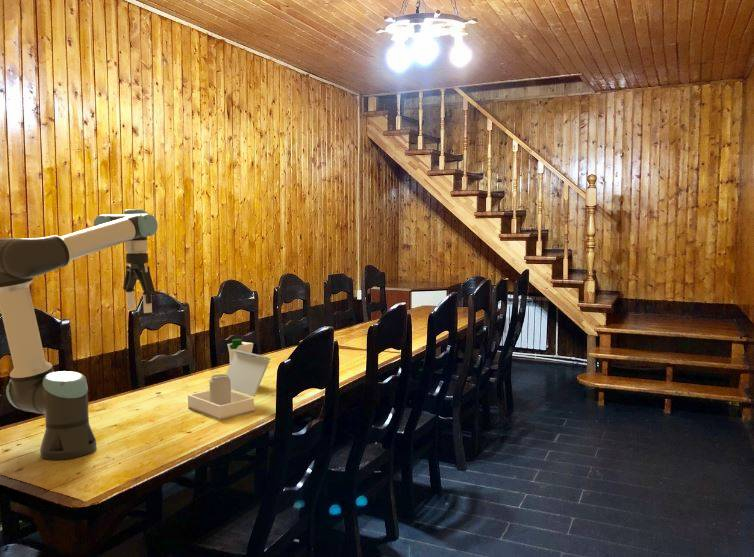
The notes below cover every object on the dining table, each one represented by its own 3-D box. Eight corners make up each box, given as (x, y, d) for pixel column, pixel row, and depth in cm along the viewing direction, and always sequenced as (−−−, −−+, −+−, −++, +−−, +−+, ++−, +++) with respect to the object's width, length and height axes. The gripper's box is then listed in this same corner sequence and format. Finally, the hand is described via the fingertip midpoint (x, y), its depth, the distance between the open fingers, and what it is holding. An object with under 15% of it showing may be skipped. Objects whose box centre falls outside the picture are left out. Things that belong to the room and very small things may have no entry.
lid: (266, 356, 231) (270, 358, 233) (232, 348, 247) (237, 351, 248) (249, 394, 227) (254, 396, 228) (216, 384, 242) (221, 386, 244)
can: (225, 411, 227) (224, 378, 226) (206, 410, 228) (205, 377, 227) (234, 405, 234) (233, 373, 233) (216, 404, 236) (215, 372, 235)
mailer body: (220, 420, 219) (219, 406, 218) (188, 408, 234) (187, 394, 234) (254, 411, 229) (253, 398, 228) (221, 400, 244) (221, 387, 244)
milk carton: (226, 386, 266) (225, 339, 264) (241, 382, 273) (240, 336, 271) (241, 389, 261) (240, 341, 259) (257, 384, 268) (255, 338, 267)
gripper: (163, 252, 221) (165, 312, 223) (131, 251, 239) (134, 307, 241) (142, 253, 216) (145, 315, 218) (111, 252, 234) (114, 309, 235)
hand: (139, 311), depth 229 cm, fingers open, 13 cm apart
